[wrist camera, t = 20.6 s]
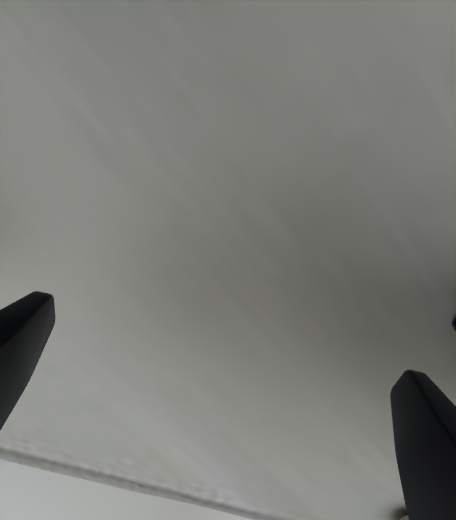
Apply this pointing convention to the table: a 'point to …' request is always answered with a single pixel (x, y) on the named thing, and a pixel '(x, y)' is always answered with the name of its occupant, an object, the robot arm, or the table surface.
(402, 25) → the table surface
